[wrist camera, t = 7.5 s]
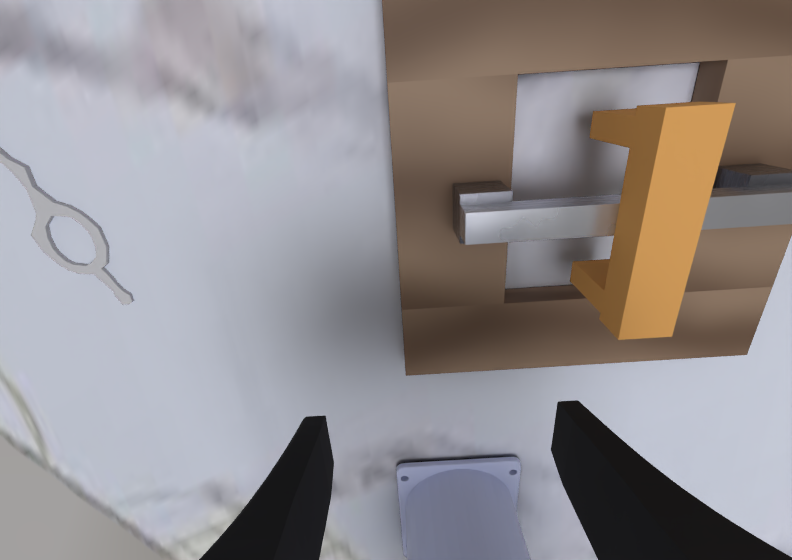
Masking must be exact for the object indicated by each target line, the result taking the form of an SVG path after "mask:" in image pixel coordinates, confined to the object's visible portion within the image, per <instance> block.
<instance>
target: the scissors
mask: <svg viewBox="0 0 792 560" xmlns="http://www.w3.org/2000/svg"><path fill="white" fill-rule="evenodd" d="M0 162H1V163H2V164H3V165H4V166H5V167H6V168H7V169H9V170H10V171H11V172H12V173H13V174H14V175H15V177H16V178H17V179H18V180H19V181H20V182H21V184H22V185H23V186H24V187H25V188H26V190H27V193H28V195H29V197H30V200H31V202H32V204H33V207H34V209H35V212H36V220H35V224H34V227H33V230H32V233H31V236H32V237H33V239H34V240H35V242H36V243H37V245H38V246H39V247H40V249H41V250H42V251H43V252H44V253H45V254H46V255H47V256H49V257H50V258H51V259H52V260H53V261H55V262H56V263H57V264H59V265H61V266H62V267H64V268H65V269H67V270H68V271H72V272H75V273H78V274H94V275H95V276H96V277H97V278H99V279H100V280H101V281H102V282H103V283H104V284H105V285H106V286H107V287H109V288H110V289H111V290H112V291H113V292H114V294H115V297H116V298H117V299H118V300H119V301H120V303H121V304H122V305H128V304H130V303H132V302H133V301H134V299H133V296H132V294H131V293H130V292H128V291H127V290H125V289H124V288H123V287H122V286H121V285H120V284H119V283H118V282H117V281H116V279H115V278H114V277H113V276H112V275H111V274H110V273H109V272H108V271H107V270H106V269H105V268H104V266H106V265H107V264H108V263H109V244H108V242H107V240H106V238H105V235H104V233H103V231H102V229H101V227H100V226H99V225H98V224H97V223H96V222H95V221H94V220H93V219H91V218H90V217H89V216H88V215H86V214H85V213H84V212H82V211H81V210H79V209H77V208H75V207H73V206H71V205H68V204H65V203H62V202H58V201H56V200H55V199H54V198H52V197H51V196H50V195H49V194H47V193H46V192H45V191H43V190H42V189H41V188H40V187H38V186H37V184H36V182H35V179H34V177H33V175H32V172H31V170H30V167H29V166H27V165H26V164H24V163H22V162H20V161H18V160H16V159H14V158H12V157H11V156H10V155H9V154H7V153H6V152H5V151H4V150H3V149H2V148H1V147H0ZM54 216H62V217H71V218H72V219H74V220H75V221H77V222H78V223H79V224H81V225H82V226H83V227H84V228H85V229H86V230H87V231H88V233H89V234H90V235H91V237H92V240H93V242H94V245H95V249H96V258H95V259H94V261H93V262H92V263H90V264H82V263H76V262H73V261H71V260H69V259H68V258H67V257H65V256H64V255H63V254H62V253H61V252H60V251H59V250H58V248H57V247H56V245H55V243H54V241H53V239H52V237H51V232H50V228H49V224H50V222H51V221H52V219H53V217H54Z"/></svg>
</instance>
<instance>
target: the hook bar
mask: <svg viewBox="0 0 792 560" xmlns="http://www.w3.org/2000/svg"><path fill="white" fill-rule="evenodd" d="M512 197H513V191H512V190H511V189H510V188H509V187H507V186H506V185H505V184H504V183H502V182H501V181H500V180H497V181H481V182H466V183H453V230H454V232H455V234H456V237H457V239H458V241H459V243H460V244H465V245H471V244H487V243H503V242H518V241H534V240H550V239H565V238H581V237H596V236H612V235H614V233H615V228H616V222H617V216H618V211H619V205H620V200H621V194H618V195H602V196H587V197H572V198H556V199H541V200H525V201H512ZM784 224H792V169H787V168H782V167H777V166H772V165H767V164H762V163H756V164H741V165H726V166H718V170H717V174H716V177H715V181H714V185H713V188H712V192H711V196H710V199H709V203H708V207H707V210H706V214H705V218H704V221H703V225H702V229H701V230H706V229H722V228H737V227H753V226H768V225H784Z"/></svg>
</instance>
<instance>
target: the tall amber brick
mask: <svg viewBox="0 0 792 560" xmlns="http://www.w3.org/2000/svg"><path fill="white" fill-rule="evenodd" d="M735 104H736V103H724V102H686V103H671V104H656V105H641V106H637V108H635V109H620V110H605V111H593V116H592V123H591V130H590V138H591V139H595V140H599V141H604V142H608V143H612V144H616V145H620V146H624V147H629V148H630V149H629V155H628V160H627V166H626V171H625V177H624V183H623V188H622V194H621V200H620V205H619V211H618V216H617V222H616V228H615V233H614V239H613V245H612V250H611V256H610V259H604V260H588V261H573V263H572V270H571V278H570V282H571V283H572V284H573V285H574V286H575V287H576V288H577V289H578V290H579V291H580V292H581V293H582V294H583V295H584V296H585V297H586V298H587V299H588V300H589V302H590V303H591V304H592V305H593V306H594V307H595V308H596V309H597V310H598V311H599V312H600V318H599V320H600V321H601V322H602V323H603V324H604V325H605V326H606V327H607V328H608V329H609V330H610V332H611V333H612V334H613V335H614V336H615V337H616V338H617V339H618V340H625V339H642V338H658V337H672V335H673V331H674V327H675V324H676V320H677V316H678V313H679V309H680V306H681V302H682V298H683V295H684V291H685V287H686V284H687V280H688V276H689V273H690V269H691V265H692V262H693V258H694V254H695V251H696V247H697V243H698V240H699V236H700V232H701V229H702V225H703V221H704V218H705V214H706V210H707V207H708V203H709V199H710V196H711V192H712V188H713V185H714V181H715V177H716V174H717V170H718V166H719V163H720V159H721V155H722V152H723V148H724V144H725V141H726V137H727V133H728V130H729V126H730V122H731V119H732V115H733V111H734V108H735Z"/></svg>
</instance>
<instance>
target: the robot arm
mask: <svg viewBox="0 0 792 560" xmlns="http://www.w3.org/2000/svg"><path fill="white" fill-rule="evenodd" d="M551 451H552V454H553V457H554V461H555V464H556V467H557V470H558V473H559V475H560V478H561V481H562V484H563V486H564V488H565V490H566V493H567V495H568V497H569V499H570V501H571V503H572V505H573V507H574V510H575V512H576V514H577V516H578V518H579V520H580V522H581V524H582V526H583V529H584V531H585V533H586V535H587V537H588V539H589V541H590V543H591V545H592V548H593V550H594V552H595V554H596V556H597V558H598V560H792V557H790V556H788V555H786V554H785V553H783V552H781V551H779V550H778V549H776V548H774V547H773V546H771V545H769V544H767V543H766V542H764V541H762V540H761V539H759V538H757V537H756V536H754V535H752V534H751V533H749V532H748V531H746V530H744V529H743V528H741V527H739V526H738V525H736V524H734V523H733V522H731V521H730V520H728V519H727V518H725V517H724V516H722V515H720V514H719V513H717V512H716V511H714V510H713V509H711V508H710V507H709V506H707V505H706V504H704V503H703V502H701V501H700V500H698V499H697V498H695V497H694V496H693V495H691V494H690V493H688V492H687V491H685V490H684V489H683V488H681V487H680V486H679V485H677V484H676V483H675V482H673V481H672V480H671V479H669V478H668V477H667V476H665V475H664V474H663V473H662V472H660V471H659V470H658V469H656V468H655V467H654V466H653V465H651V464H650V463H649V462H648V461H646V460H645V459H644V458H643V457H641V456H640V455H639V454H638V453H637V452H636V451H634V450H633V449H632V448H631V447H630V446H628V445H627V444H626V443H625V442H624V441H623V440H621V439H620V438H619V437H618V436H617V435H616V434H615V433H613V432H612V431H611V430H610V429H609V428H608V427H607V426H606V425H604V424H603V423H602V422H601V421H600V420H599V419H598V418H597V417H596V416H594V415H593V414H592V413H591V412H590V411H589V410H588V409H587V408H586V407H584V406H583V405H582V404H581V403H580V402H579V401H561V402H558V404H557V411H556V418H555V425H554V433H553V440H552V447H551ZM333 467H334V461H333V455H332V450H331V444H330V438H329V433H328V427H327V422H326V416H312V417H305V418H304V419H303V421H302V422H301V424H300V426H299V428H298V429H297V431H296V433H295V435H294V436H293V438H292V440H291V441H290V443H289V445H288V446H287V448H286V449H285V451H284V453H283V454H282V456H281V457H280V459H279V460H278V462H277V463H276V465H275V466H274V468H273V469H272V471H271V472H270V474H269V475H268V477H267V478H266V480H265V481H264V482H263V484H262V485H261V486H260V488H259V489H258V490H257V492H256V493H255V494H254V496H253V497H252V499H251V500H250V501H249V503H248V504H247V505H246V506H245V508H244V509H243V510H242V511H241V513H240V514H239V515H238V516H237V518H236V519H235V520H234V521H233V523H232V524H231V525H230V526H229V527H228V528H227V530H226V531H225V532H224V533H223V534H222V535H221V537H220V538H219V539H218V540H217V541H216V542H215V543H214V544H213V545H212V546H211V547H210V549H209V550H208V551H207V552H206V553H205V554H204V555H203V556H202V557H201V558H200V559H199V560H319V557H320V552H321V546H322V541H323V536H324V531H325V526H326V521H327V515H328V510H329V505H330V499H331V491H332V480H333ZM520 472H521V463H520V460H519V459H518V458H516V457H499V458H482V459H465V460H448V461H431V462H414V463H402V464H399V465H398V466H397V468H396V474H397V485H398V497H399V508H400V520H401V531H402V543H403V554H404V556H405V557H406V558H408V560H531V559H530V556H529V553H528V549H527V546H526V543H525V540H524V536H523V533H522V530H521V526H520V523H519V520H518V517H517V513H516V512H517V502H518V492H519V482H520Z"/></svg>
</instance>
